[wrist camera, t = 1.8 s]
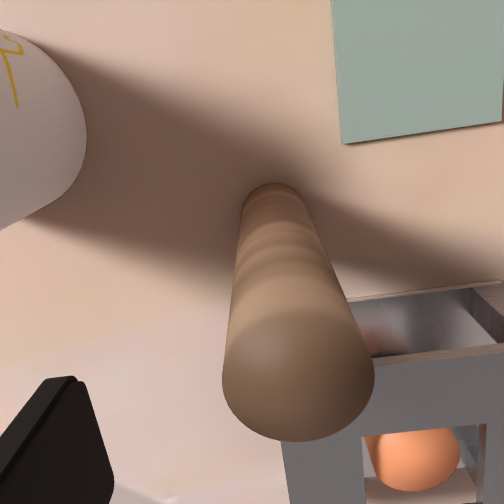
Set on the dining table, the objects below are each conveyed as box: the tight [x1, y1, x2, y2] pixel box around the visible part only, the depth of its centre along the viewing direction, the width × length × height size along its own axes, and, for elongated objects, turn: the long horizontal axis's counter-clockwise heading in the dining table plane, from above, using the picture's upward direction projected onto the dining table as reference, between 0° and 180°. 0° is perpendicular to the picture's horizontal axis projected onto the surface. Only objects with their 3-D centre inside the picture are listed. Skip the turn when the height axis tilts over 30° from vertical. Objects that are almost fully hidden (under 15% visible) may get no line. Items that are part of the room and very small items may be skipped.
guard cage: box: [281, 280, 504, 504], centre depth 22 cm, size 12×12×6 cm
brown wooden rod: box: [222, 183, 375, 442], centre depth 15 cm, size 3×3×13 cm
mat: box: [331, 0, 504, 144], centre depth 18 cm, size 8×7×1 cm
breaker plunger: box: [364, 427, 460, 491], centre depth 21 cm, size 4×4×2 cm
